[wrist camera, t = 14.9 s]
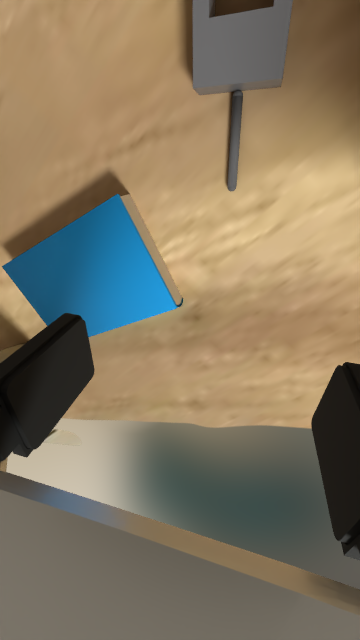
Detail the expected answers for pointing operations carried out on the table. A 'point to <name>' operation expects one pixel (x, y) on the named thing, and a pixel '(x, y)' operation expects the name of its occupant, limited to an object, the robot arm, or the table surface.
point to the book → (98, 270)
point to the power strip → (238, 57)
